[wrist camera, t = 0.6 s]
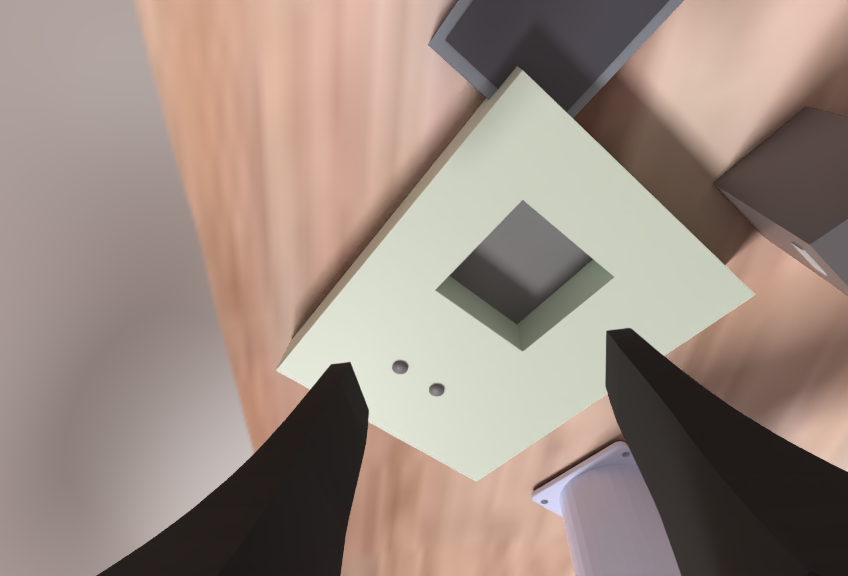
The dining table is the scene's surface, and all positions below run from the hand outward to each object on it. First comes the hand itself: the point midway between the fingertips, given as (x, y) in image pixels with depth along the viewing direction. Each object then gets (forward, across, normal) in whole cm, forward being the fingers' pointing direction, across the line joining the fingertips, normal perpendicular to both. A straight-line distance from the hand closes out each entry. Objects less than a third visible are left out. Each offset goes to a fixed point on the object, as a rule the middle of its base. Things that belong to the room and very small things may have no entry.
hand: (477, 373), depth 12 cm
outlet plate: (+10, 0, +4) cm, 11 cm away
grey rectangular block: (+10, -14, 0) cm, 17 cm away
